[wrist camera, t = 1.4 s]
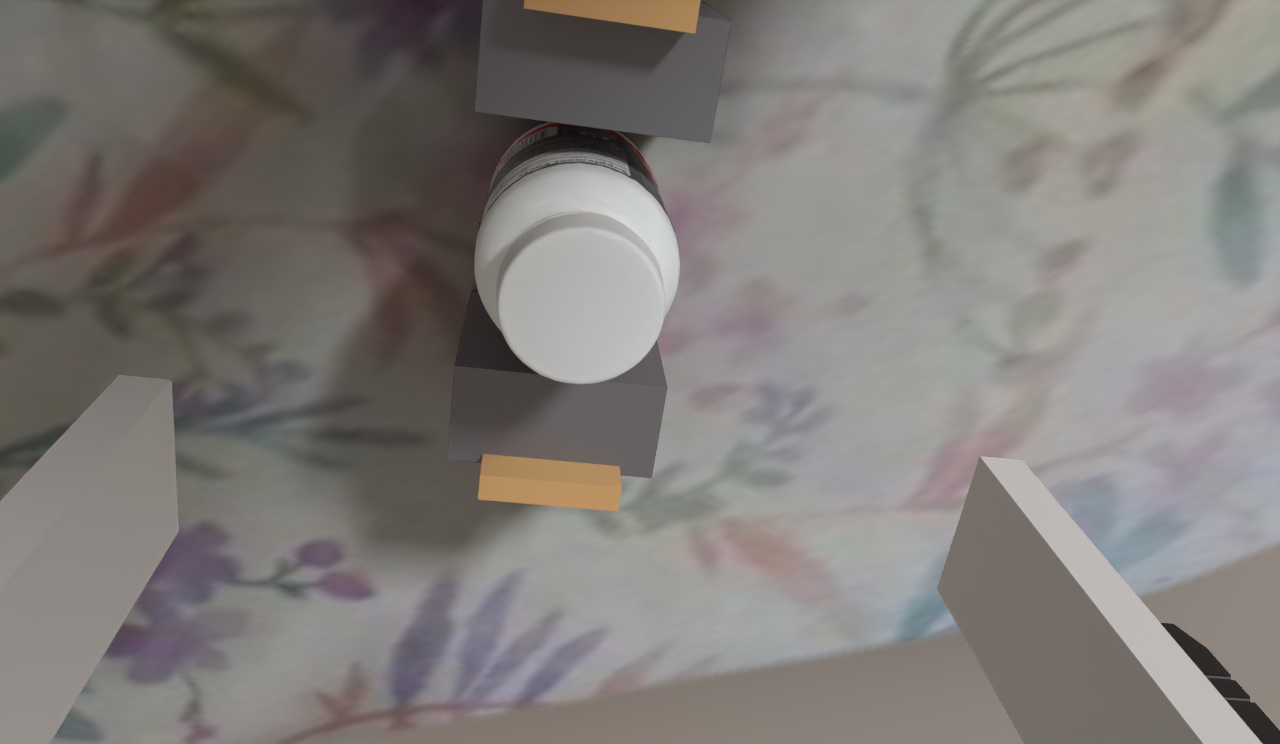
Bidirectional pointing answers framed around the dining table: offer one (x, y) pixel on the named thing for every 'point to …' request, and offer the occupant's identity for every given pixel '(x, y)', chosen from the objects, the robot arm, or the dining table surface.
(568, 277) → the pill bottle
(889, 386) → the dining table surface
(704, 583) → the dining table surface
